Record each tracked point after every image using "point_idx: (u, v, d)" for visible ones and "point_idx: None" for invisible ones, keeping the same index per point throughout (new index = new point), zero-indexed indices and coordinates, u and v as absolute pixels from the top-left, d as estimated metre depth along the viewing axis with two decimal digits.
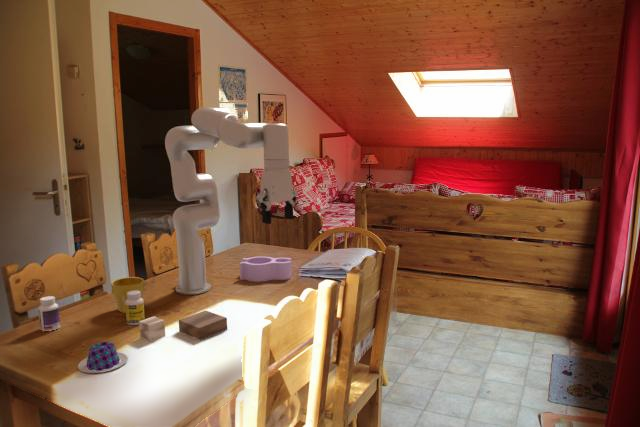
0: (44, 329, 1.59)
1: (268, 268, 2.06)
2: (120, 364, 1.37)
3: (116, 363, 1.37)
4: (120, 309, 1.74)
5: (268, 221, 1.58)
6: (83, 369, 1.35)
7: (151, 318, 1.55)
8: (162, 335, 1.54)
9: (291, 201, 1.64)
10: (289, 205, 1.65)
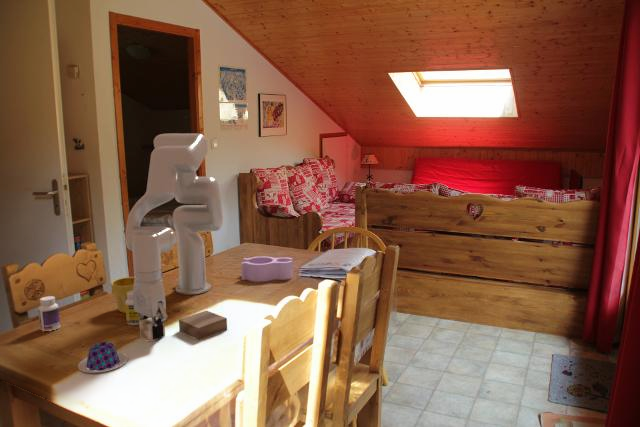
0: (44, 329, 1.59)
1: (270, 268, 2.06)
2: (121, 363, 1.37)
3: (117, 362, 1.37)
4: (120, 309, 1.74)
5: None
6: (84, 369, 1.34)
7: (151, 318, 1.55)
8: None
9: None
10: None
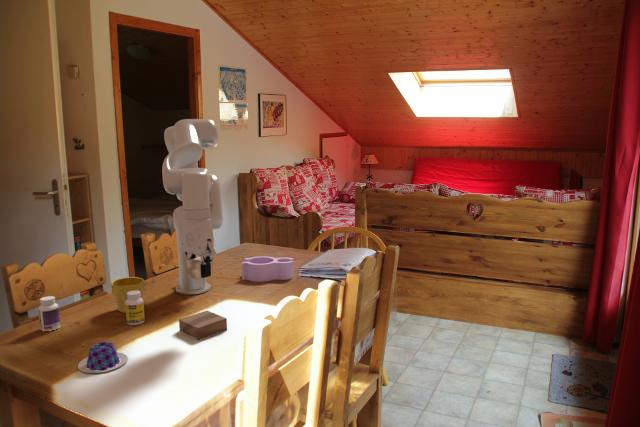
0: (44, 329, 1.59)
1: (270, 268, 2.06)
2: (122, 362, 1.38)
3: (118, 362, 1.38)
4: (120, 309, 1.74)
5: (209, 273, 1.54)
6: (85, 370, 1.34)
7: (198, 258, 1.56)
8: None
9: None
10: None
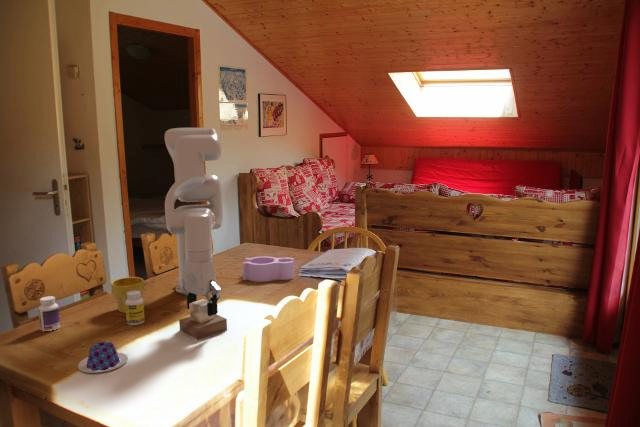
0: (44, 329, 1.59)
1: (271, 268, 2.06)
2: (123, 361, 1.38)
3: (118, 361, 1.38)
4: (120, 309, 1.74)
5: None
6: (86, 370, 1.34)
7: (200, 300, 1.59)
8: (211, 317, 1.57)
9: None
10: (193, 294, 1.60)
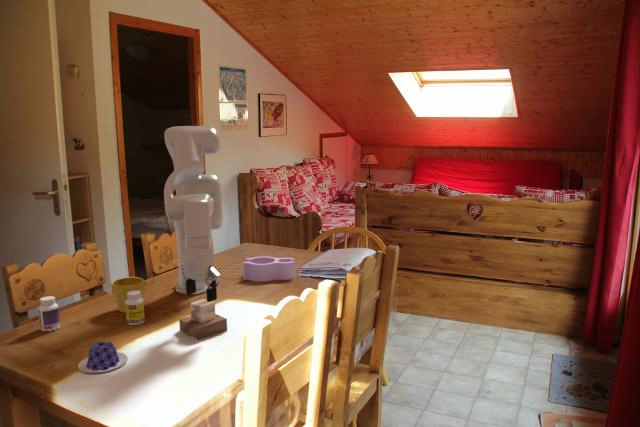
0: (44, 329, 1.59)
1: (271, 268, 2.06)
2: (123, 361, 1.38)
3: (118, 360, 1.38)
4: (120, 309, 1.74)
5: None
6: (87, 371, 1.33)
7: (201, 300, 1.59)
8: (212, 317, 1.58)
9: None
10: (192, 279, 1.59)
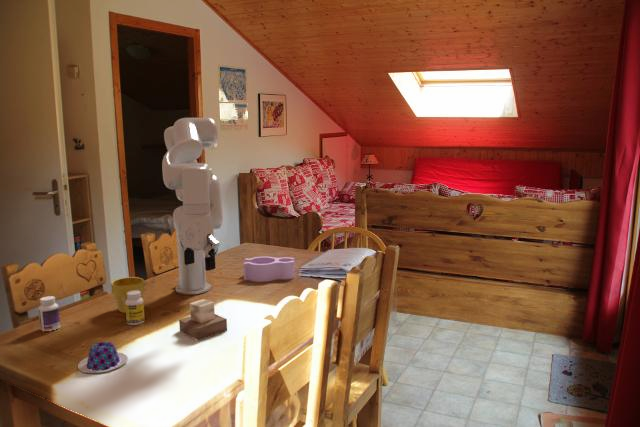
0: (44, 329, 1.59)
1: (272, 268, 2.06)
2: (123, 360, 1.39)
3: (118, 360, 1.38)
4: (120, 309, 1.74)
5: (213, 266, 1.52)
6: (87, 371, 1.33)
7: (201, 300, 1.59)
8: (212, 317, 1.57)
9: None
10: (190, 250, 1.58)
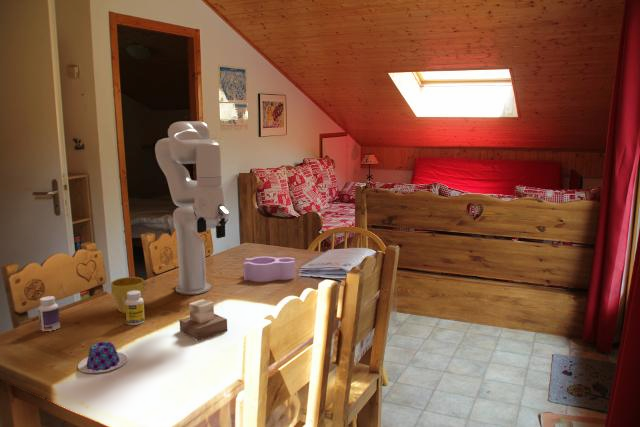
0: (44, 329, 1.59)
1: (272, 268, 2.06)
2: (123, 360, 1.39)
3: (118, 360, 1.38)
4: (120, 309, 1.74)
5: (223, 234, 1.67)
6: (88, 371, 1.33)
7: (200, 301, 1.59)
8: (211, 317, 1.57)
9: None
10: (203, 219, 1.72)
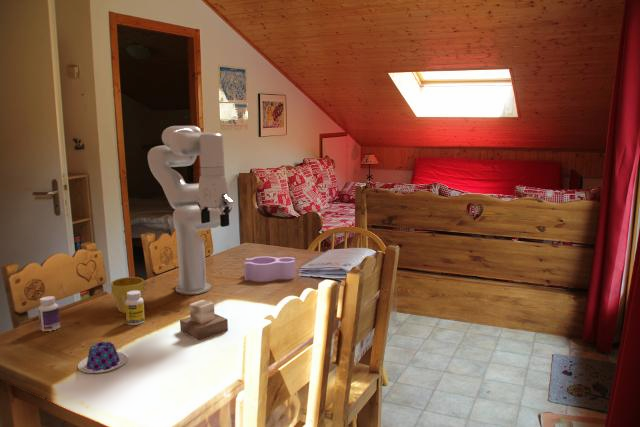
0: (44, 329, 1.59)
1: (273, 268, 2.06)
2: (123, 360, 1.39)
3: (118, 360, 1.39)
4: (120, 309, 1.74)
5: (227, 223, 1.70)
6: (88, 371, 1.33)
7: (200, 301, 1.58)
8: (212, 318, 1.57)
9: None
10: (206, 210, 1.76)
